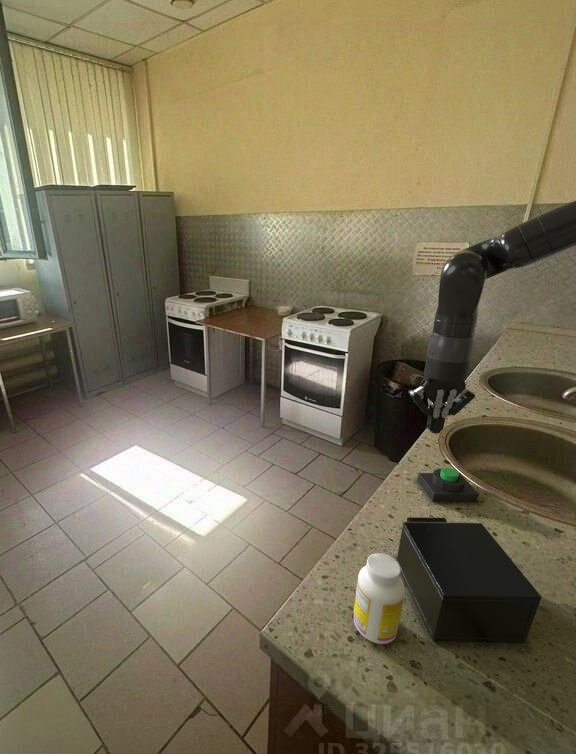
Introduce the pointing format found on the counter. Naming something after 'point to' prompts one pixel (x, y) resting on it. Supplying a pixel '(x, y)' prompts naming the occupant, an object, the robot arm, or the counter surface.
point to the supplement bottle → (379, 599)
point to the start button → (449, 474)
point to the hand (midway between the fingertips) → (434, 431)
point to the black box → (465, 584)
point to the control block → (447, 488)
